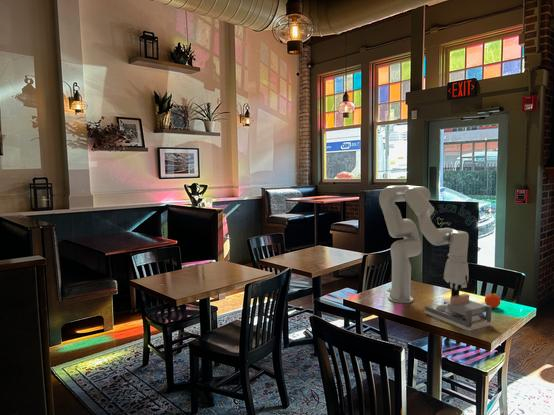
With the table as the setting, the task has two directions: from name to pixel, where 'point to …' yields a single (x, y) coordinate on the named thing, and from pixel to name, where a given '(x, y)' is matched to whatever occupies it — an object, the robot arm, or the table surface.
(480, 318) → the loose roller
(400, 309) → the table surface
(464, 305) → the slab
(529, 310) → the table surface
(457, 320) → the roller track
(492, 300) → the clementine
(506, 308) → the table surface
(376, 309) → the table surface
